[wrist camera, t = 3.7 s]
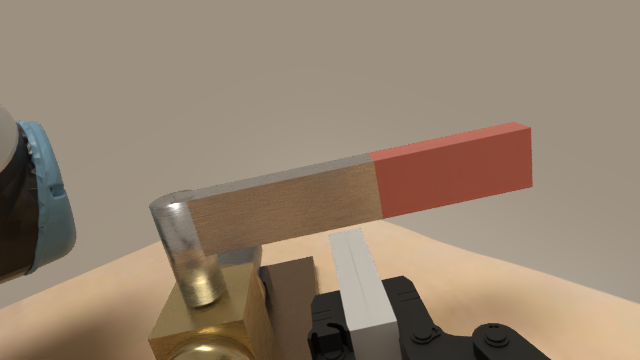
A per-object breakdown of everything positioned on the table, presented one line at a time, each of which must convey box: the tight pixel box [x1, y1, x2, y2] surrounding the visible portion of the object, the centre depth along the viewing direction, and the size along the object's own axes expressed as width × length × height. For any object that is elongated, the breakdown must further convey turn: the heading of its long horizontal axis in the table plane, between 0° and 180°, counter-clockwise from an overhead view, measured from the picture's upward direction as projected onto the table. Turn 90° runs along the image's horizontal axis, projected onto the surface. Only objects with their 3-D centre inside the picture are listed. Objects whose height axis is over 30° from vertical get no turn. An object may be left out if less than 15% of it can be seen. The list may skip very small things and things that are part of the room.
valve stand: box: [148, 245, 318, 360], centre depth 29 cm, size 30×14×8 cm, turn 5°
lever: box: [149, 122, 532, 307], centre depth 27 cm, size 24×3×7 cm, turn 95°
